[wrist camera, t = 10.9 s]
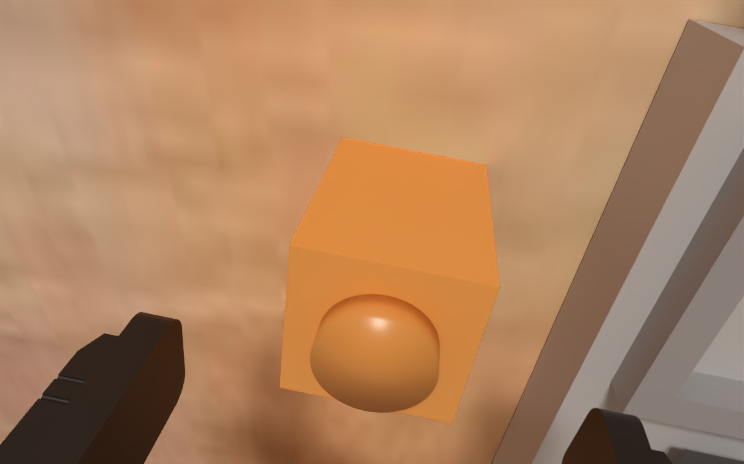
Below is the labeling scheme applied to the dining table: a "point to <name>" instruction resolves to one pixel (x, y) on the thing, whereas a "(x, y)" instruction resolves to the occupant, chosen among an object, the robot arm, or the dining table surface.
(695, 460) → the breaker
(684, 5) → the dining table surface
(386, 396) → the cap
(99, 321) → the dining table surface
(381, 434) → the dining table surface
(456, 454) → the dining table surface
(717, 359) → the breaker panel
